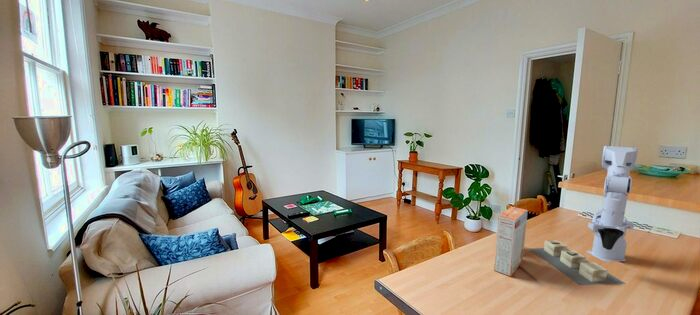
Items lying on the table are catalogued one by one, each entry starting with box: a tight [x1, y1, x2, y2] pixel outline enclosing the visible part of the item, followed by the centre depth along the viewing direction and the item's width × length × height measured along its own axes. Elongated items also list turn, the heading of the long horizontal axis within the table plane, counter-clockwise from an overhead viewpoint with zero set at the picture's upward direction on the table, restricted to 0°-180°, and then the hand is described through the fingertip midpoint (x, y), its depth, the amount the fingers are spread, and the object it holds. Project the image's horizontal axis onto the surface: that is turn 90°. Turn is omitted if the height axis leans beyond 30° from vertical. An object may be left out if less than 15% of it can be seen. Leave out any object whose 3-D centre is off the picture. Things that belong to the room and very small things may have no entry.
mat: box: [528, 247, 626, 286], centre depth 107 cm, size 16×25×1 cm, turn 4°
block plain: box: [579, 261, 608, 282], centre depth 99 cm, size 5×5×4 cm
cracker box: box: [493, 206, 528, 277], centre depth 105 cm, size 14×6×21 cm, turn 134°
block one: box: [543, 239, 567, 256], centre depth 115 cm, size 5×5×4 cm
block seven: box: [560, 250, 586, 268], centre depth 107 cm, size 5×5×4 cm
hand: (607, 248), depth 101 cm, fingers closed
